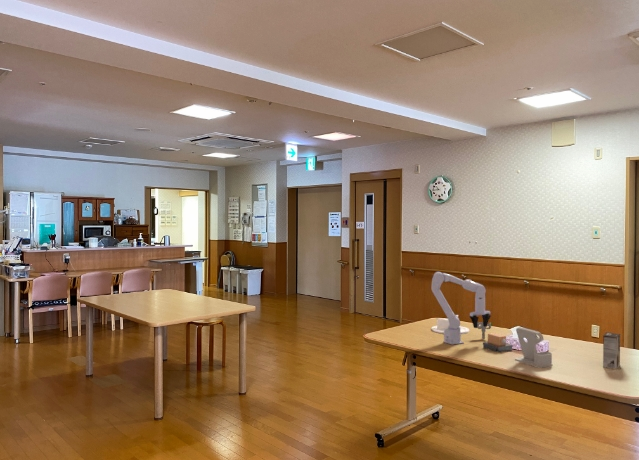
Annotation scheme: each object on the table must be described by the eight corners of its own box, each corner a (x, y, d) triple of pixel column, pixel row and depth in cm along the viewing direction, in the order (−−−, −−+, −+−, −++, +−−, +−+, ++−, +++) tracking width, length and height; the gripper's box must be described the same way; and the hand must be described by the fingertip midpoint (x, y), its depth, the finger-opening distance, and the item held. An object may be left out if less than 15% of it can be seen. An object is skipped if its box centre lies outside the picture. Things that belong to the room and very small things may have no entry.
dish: (473, 329, 342) (473, 312, 342) (463, 336, 320) (463, 318, 320) (438, 325, 355) (438, 309, 354) (426, 332, 333) (426, 315, 333)
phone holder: (554, 366, 254) (554, 330, 254) (539, 368, 250) (539, 332, 250) (528, 357, 270) (528, 324, 270) (513, 359, 266) (513, 326, 266)
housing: (487, 342, 291) (487, 333, 291) (494, 341, 294) (494, 332, 293) (501, 346, 282) (501, 337, 282) (507, 345, 284) (507, 336, 284)
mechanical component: (492, 339, 312) (492, 323, 312) (475, 339, 312) (475, 323, 312) (490, 337, 315) (490, 322, 315) (474, 337, 315) (474, 322, 315)
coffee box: (606, 363, 258) (606, 332, 258) (620, 365, 254) (620, 333, 254) (602, 367, 251) (602, 335, 251) (617, 369, 247) (617, 337, 247)
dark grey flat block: (498, 352, 280) (498, 347, 280) (482, 347, 291) (482, 342, 291) (512, 350, 285) (512, 345, 285) (497, 345, 296) (497, 340, 296)
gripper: (475, 306, 293) (475, 329, 294) (494, 304, 300) (494, 327, 300) (467, 304, 300) (467, 327, 300) (485, 303, 306) (485, 325, 306)
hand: (480, 327), depth 300 cm, fingers open, 7 cm apart
